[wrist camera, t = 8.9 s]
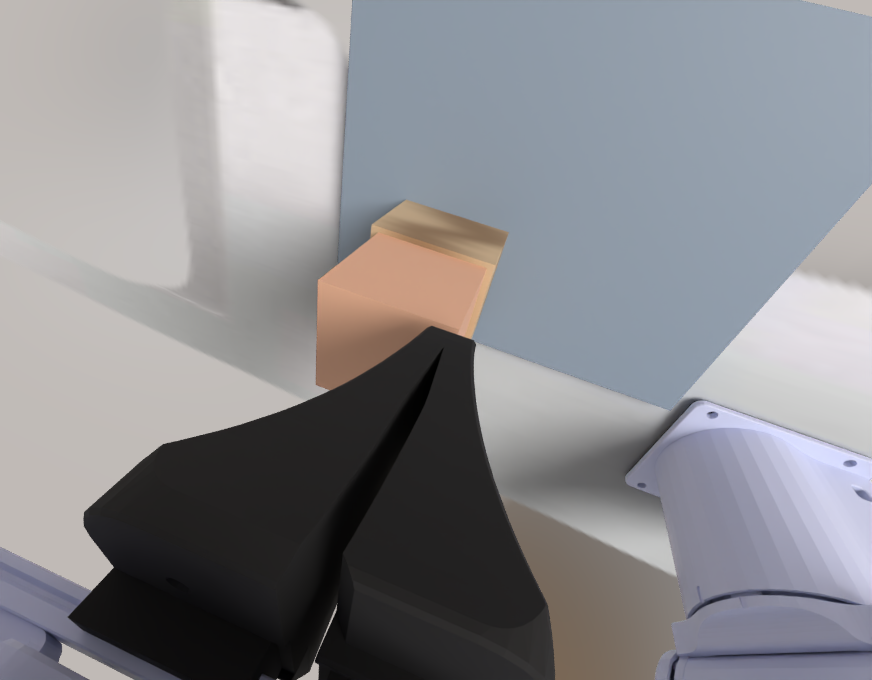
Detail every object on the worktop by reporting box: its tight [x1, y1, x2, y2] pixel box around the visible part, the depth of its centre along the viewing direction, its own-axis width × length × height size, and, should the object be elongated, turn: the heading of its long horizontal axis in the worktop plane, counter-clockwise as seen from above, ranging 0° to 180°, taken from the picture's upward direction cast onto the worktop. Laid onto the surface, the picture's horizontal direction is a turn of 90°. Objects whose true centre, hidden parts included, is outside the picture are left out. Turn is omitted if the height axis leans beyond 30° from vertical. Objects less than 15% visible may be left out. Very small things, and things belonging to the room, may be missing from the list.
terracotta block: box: [316, 232, 487, 390], centre depth 15 cm, size 5×5×5 cm
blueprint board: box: [338, 0, 872, 410], centre depth 17 cm, size 20×16×1 cm
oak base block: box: [370, 200, 509, 339], centre depth 18 cm, size 5×5×4 cm
